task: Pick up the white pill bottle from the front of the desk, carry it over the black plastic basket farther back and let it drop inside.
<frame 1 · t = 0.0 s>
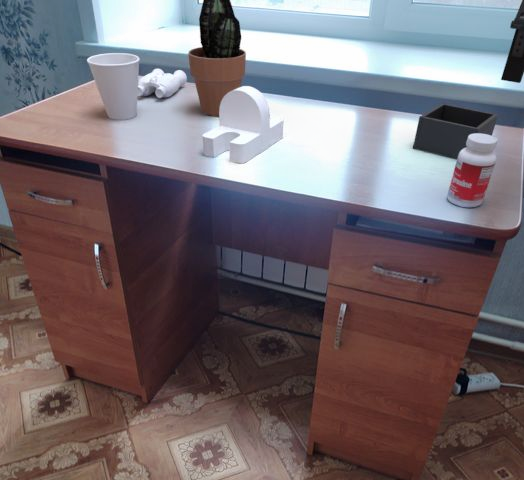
hand: (523, 72, 79), 20 cm above the table, tool pointing down, fingers open, 13 cm apart
bracket: (244, 146, 110), on the table
cup: (122, 116, 124), on the table
potted plant: (219, 111, 128), on the table
binoculars: (160, 93, 139), on the table
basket: (451, 146, 111), on the table
pill bottle: (463, 201, 91), on the table
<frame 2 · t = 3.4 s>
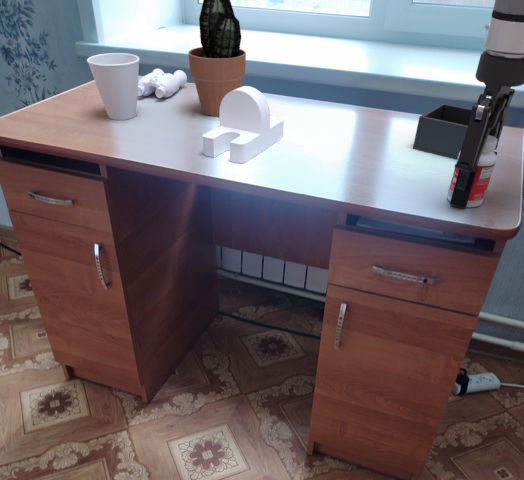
hand: (464, 198, 90), 0 cm above the table, tool pointing down, fingers closed on pill bottle, 6 cm apart
pill bottle: (463, 201, 91), on the table, touching gripper
everything else where it was.
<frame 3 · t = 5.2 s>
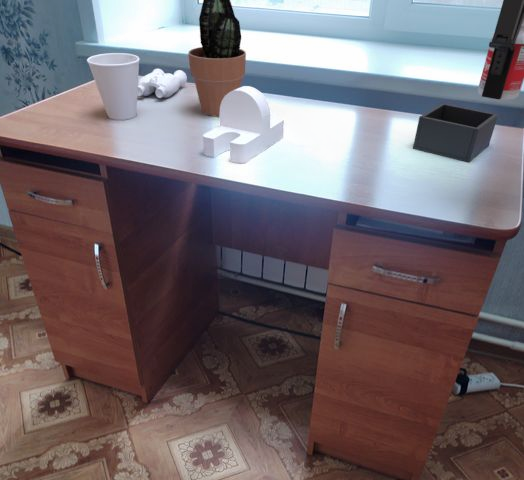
hand: (498, 92, 79), 18 cm above the table, tool pointing down, fingers closed on pill bottle, 6 cm apart
pill bottle: (496, 96, 79), point 17 cm above the table, touching gripper
everything else where it was.
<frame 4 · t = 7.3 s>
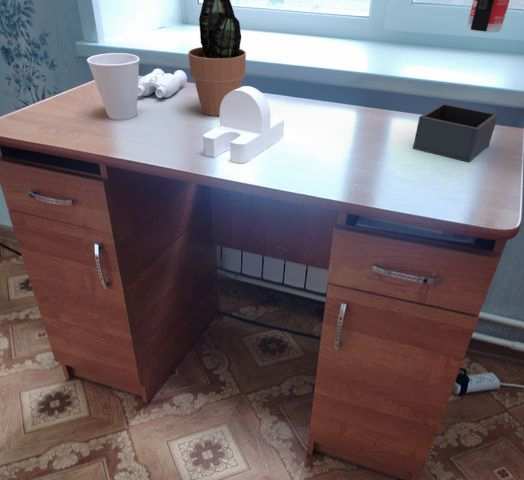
hand: (484, 27, 94), 23 cm above the table, tool pointing down, fingers closed on pill bottle, 6 cm apart
pill bottle: (483, 31, 94), point 22 cm above the table, touching gripper
everything else where it was.
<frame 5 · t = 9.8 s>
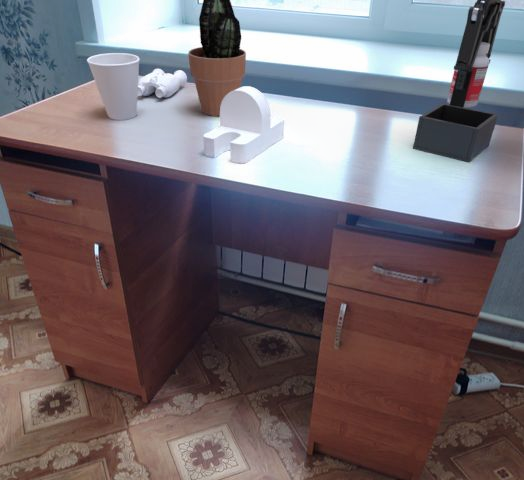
hand: (462, 102, 105), 9 cm above the table, tool pointing down, fingers closed on pill bottle, 6 cm apart
pill bottle: (461, 105, 105), point 9 cm above the table, touching gripper
everything else where it was.
when the fingers open (4 cm above the table, at t = 11.6 s): pill bottle drops 3 cm, resting on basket.
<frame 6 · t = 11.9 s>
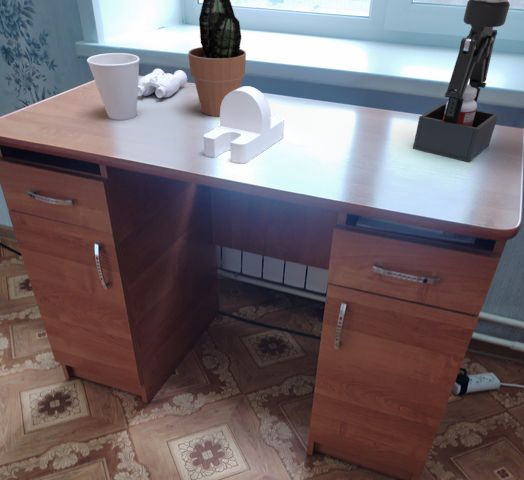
hand: (456, 125, 108), 5 cm above the table, tool pointing down, fingers open, 9 cm apart
pill bottle: (452, 144, 111), point 1 cm above the table, touching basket
everything else where it was.
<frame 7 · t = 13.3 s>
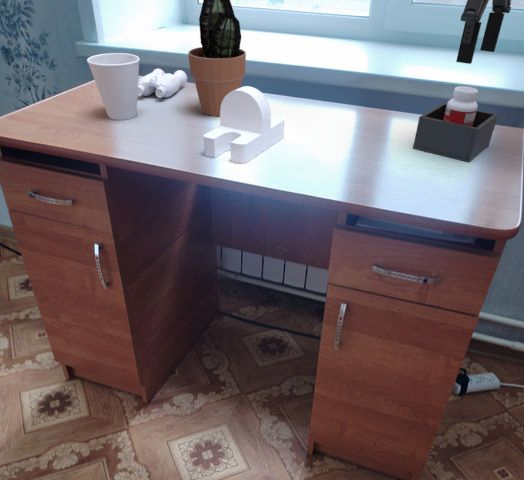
hand: (475, 56, 99), 18 cm above the table, tool pointing down, fingers open, 13 cm apart
nothing on the table moved.
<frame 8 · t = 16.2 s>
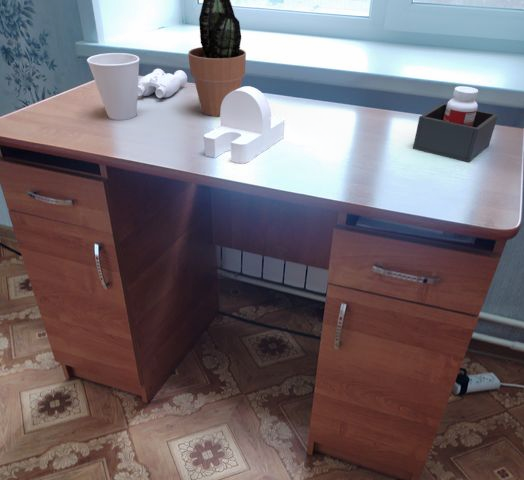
nothing on the table moved.
at the end: pill bottle inside the target area in the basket (0.2 cm from its centre), point 0.4 cm above the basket's base; the gripper is holding nothing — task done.
